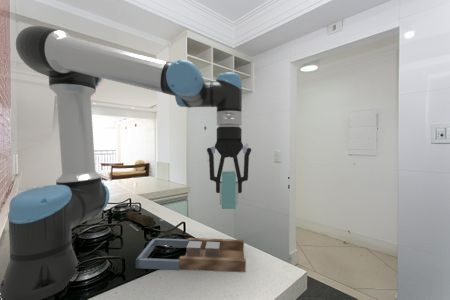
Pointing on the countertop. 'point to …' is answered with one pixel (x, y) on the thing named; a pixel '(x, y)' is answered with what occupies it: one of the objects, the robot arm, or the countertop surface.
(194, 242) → the grey cube
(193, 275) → the countertop surface
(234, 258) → the channel
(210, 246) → the light grey cube
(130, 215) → the hand tool
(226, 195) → the upright teal block
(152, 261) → the tray
